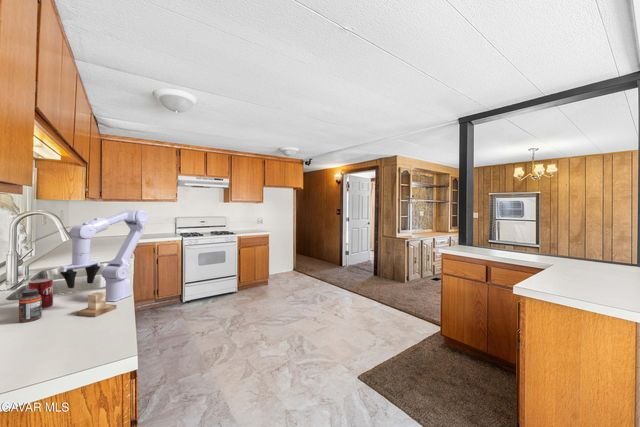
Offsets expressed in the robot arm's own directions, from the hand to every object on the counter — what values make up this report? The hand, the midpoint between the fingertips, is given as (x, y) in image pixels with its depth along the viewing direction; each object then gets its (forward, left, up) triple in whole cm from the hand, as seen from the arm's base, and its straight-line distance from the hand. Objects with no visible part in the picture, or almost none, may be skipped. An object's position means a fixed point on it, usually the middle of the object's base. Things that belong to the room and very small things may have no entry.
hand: (80, 285), depth 112 cm
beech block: (0, +8, -9) cm, 12 cm away
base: (0, +9, -10) cm, 13 cm away
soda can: (+1, -19, -11) cm, 22 cm away
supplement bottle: (+11, -9, -11) cm, 18 cm away
